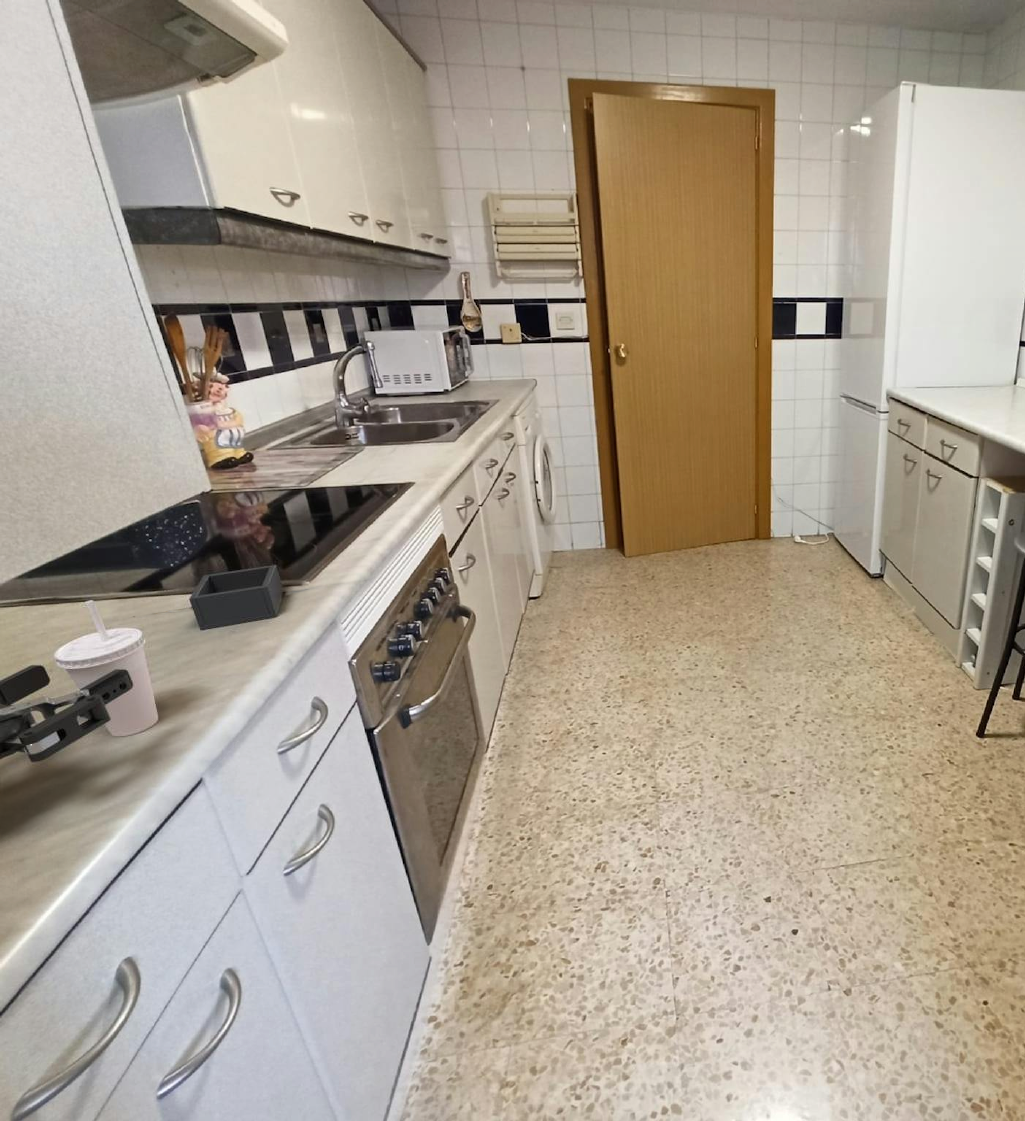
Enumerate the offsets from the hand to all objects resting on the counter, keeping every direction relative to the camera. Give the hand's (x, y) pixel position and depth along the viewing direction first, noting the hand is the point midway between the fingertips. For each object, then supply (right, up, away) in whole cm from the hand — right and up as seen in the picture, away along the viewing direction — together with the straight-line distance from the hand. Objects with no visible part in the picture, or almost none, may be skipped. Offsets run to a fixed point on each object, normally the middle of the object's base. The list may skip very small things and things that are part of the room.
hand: (85, 675), depth 62 cm
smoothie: (0, -6, +5) cm, 8 cm away
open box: (-7, +4, +28) cm, 30 cm away
